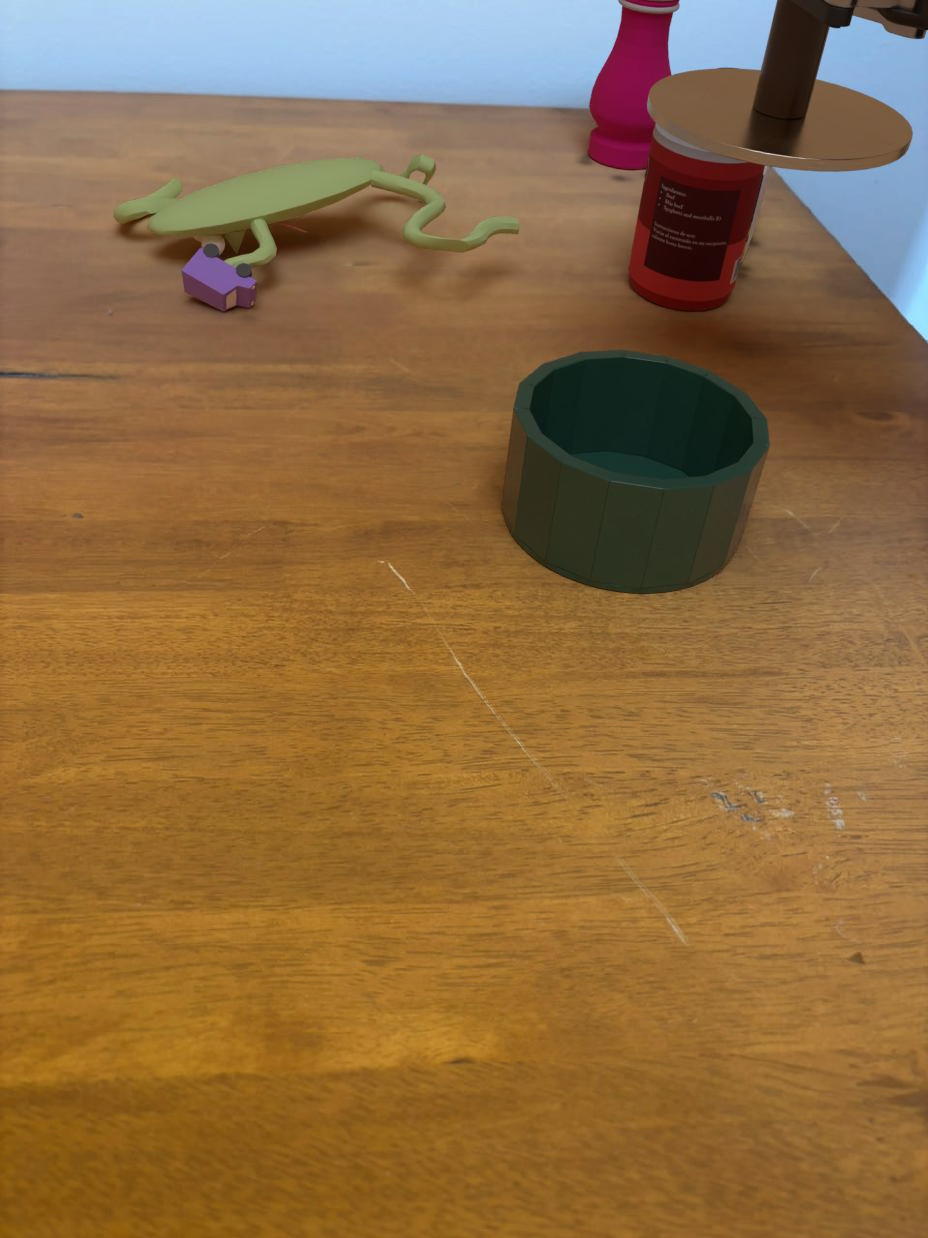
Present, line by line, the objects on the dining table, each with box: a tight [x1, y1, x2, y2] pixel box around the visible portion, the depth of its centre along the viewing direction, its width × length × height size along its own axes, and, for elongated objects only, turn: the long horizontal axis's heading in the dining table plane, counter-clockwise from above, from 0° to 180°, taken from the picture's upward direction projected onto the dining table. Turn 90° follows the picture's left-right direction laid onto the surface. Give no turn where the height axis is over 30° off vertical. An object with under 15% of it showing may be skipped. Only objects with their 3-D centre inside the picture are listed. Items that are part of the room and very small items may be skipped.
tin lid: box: [647, 0, 914, 173], centre depth 57 cm, size 14×14×11 cm
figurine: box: [112, 153, 520, 312], centre depth 80 cm, size 18×27×6 cm
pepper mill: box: [587, 0, 681, 170], centre depth 94 cm, size 7×7×20 cm
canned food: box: [628, 123, 765, 312], centre depth 79 cm, size 8×8×11 cm
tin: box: [501, 349, 771, 594], centre depth 59 cm, size 13×13×6 cm
